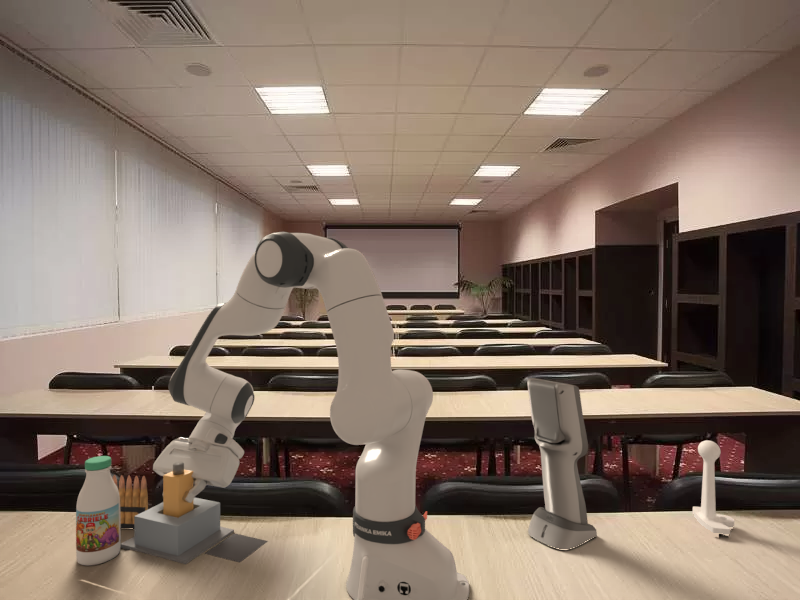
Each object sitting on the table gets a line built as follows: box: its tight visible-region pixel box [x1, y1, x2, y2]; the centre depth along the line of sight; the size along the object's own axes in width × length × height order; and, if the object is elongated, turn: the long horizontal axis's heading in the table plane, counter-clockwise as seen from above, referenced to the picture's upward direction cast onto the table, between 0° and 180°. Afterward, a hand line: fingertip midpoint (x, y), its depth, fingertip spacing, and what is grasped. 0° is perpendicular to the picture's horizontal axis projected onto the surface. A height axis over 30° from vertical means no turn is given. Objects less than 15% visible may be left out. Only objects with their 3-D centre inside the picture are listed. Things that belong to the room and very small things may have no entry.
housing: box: [120, 496, 235, 565], centre depth 107 cm, size 18×14×7 cm
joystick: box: [692, 439, 735, 535], centre depth 113 cm, size 11×8×20 cm
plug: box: [162, 462, 194, 518], centre depth 107 cm, size 4×4×14 cm
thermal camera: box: [527, 377, 598, 549], centre depth 109 cm, size 12×13×35 cm
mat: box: [203, 532, 269, 563], centre depth 103 cm, size 9×9×1 cm
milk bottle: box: [75, 455, 122, 566], centre depth 100 cm, size 8×8×20 cm
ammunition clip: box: [112, 474, 150, 530], centre depth 113 cm, size 11×2×12 cm, turn 86°
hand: (176, 499), depth 106 cm, fingers closed on plug, 4 cm apart
